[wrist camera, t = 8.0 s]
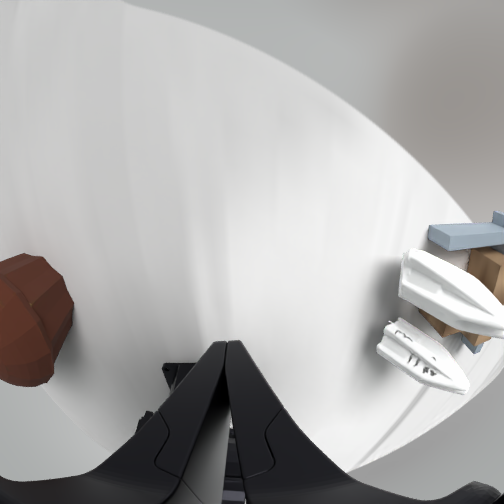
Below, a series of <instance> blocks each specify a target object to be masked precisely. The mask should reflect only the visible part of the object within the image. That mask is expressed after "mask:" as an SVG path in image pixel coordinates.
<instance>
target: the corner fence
mask: <svg viewBox="0 0 504 504" xmlns="http://www.w3.org/2000/svg"><path fill="white" fill-rule="evenodd" d="M428 239H429V240H431V241H433V242H434V243H436V244H438V245H439V246H441V247H443V248H444V249H446V250H447V251H453V250H461V249H469V248H477V247H485V246H489V247H491V248H493V249H495V250H496V251H498V252H500V253H501V254H503V255H504V213H503V212H500V211H494V213H493V221H492V222H491V223H490V222H489V223H465V224H443V225H429V234H428ZM462 341H463V343H464V344H465V345H466V346H467V347H468V348H469V349H470V350H471V352H472V353H473V354H476V353H478V352H480V350H481V348H482V346H483V344H484V342H483V343H481V344H479V345H477V346H473V345H472V344H471V343H470V342H469V341H468V339H467V338H466V337H465V336H464V335H463V337H462Z"/></svg>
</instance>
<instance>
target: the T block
mask: <svg viewBox="0 0 504 504" xmlns="http://www.w3.org/2000/svg"><path fill="white" fill-rule="evenodd" d="M467 273H469V274H471V275H472V276H474V277H475V278H477V279H478V280H479V281H480V282H481V283H482V284H483V285H484V286H485V287H486V288H487V289H488V290H489V291H490V292H491V293H492V294H493V295H494V296H495V297H496V298H497V300H498V301H499V302H500V303H501V304H502V305H504V255H503V254H501V253H500V252H498V251H496V250H495V249H493V248H491V247H489V246H485V247H477V248H472V249H471V254H470V259H469V264H468V269H467ZM419 312H420V313H421V314H422V315H423V316H424V317H425V319H426V320H427V321H428V322H429V323H430V324H431V325H432V326H433V327H434V329H435V330H436V331H437V332H438V333H439V334H440V335H441V336H442V338H443V337H446V336H449V335H452V334H454V333H457V332H461V333H462V334H463V335H464V336H465V337H466V338H467V339H468V341H469V342H470V343H471V344H472V345H473V346H477V345H479V344H481V343H483V342H486V341H488V340H490V339H491V337H489V336H483V335H479V334H474V333H470V332H466V331H461V330H458V329H455V328H453V327H451V326H449V325H447V324H446V323H444V322H442V321H441V320H439V319H437V318H435V317H434V316H432V315H430V314H429V313H427V312H425V311H424V310H422V309H420V308H419Z"/></svg>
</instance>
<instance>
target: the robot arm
mask: <svg viewBox="0 0 504 504" xmlns="http://www.w3.org/2000/svg"><path fill="white" fill-rule="evenodd" d="M168 368H169V369H168ZM162 370H163V373H164V376H165V378H166V381H167V383H168V386H169V388H170V394H169V397H168V398H167V399H166V400H165V402H164V403H163V404H162V405H161V406H160V408H159V409H158V411H156V412H155V413H153V412H150V411H146V413H145V415H144V417H142V418H141V419H140V420H139V422H138V426H137V429H136V432H135V434H134V436H133V437H132V438H130V439H129V440H128V441H127V442H126V443H125V444H124V445H123V446H122V447H120V448H119V449H118V450H117V451H116V452H115V453H113V454H112V455H111V456H110V457H109V458H108V459H106V460H105V461H104V462H103V463H102V464H100V465H99V466H98V467H96V468H95V469H93V470H91V471H89V472H87V473H85V474H82V475H78V476H71V477H65V478H58V479H49V480H40V481H27V482H18V481H11V480H8V479H5V478H3V477H1V476H0V504H245V498H246V504H504V493H503V494H502V495H501V493H500V492H499V491H498V490H497V489H495V488H494V487H491V486H489V485H486V484H483V483H480V482H476V481H473V482H471V483H469V484H467V485H465V486H463V487H462V488H460V489H458V490H456V491H455V492H453V493H451V494H450V495H448V496H446V497H443V498H441V499H436V500H427V501H425V500H417V499H413V498H409V497H405V496H401V495H398V494H395V493H391V492H388V491H385V490H382V489H379V488H376V487H373V486H370V485H367V484H364V483H362V482H360V481H357V480H356V479H354V478H352V477H350V476H349V475H348V474H346V473H345V472H344V471H343V470H341V469H340V468H339V467H338V466H337V465H336V464H335V463H334V462H333V461H332V460H331V459H329V458H328V457H327V456H326V455H325V454H324V453H323V452H322V451H321V450H320V449H319V448H318V447H317V446H316V445H315V444H314V443H313V442H312V441H311V440H310V439H309V438H308V437H307V436H306V435H305V434H304V432H303V431H302V430H301V429H300V428H299V427H298V425H297V424H296V423H295V421H294V420H293V419H292V418H291V416H290V415H289V413H288V412H287V410H286V409H285V408H284V406H283V405H282V403H281V402H280V400H279V399H278V397H277V396H276V394H275V393H274V391H273V390H272V388H271V387H270V385H269V384H268V382H267V381H266V379H265V378H264V376H263V375H262V373H261V372H260V370H259V369H258V367H257V365H256V364H255V362H254V361H253V359H252V358H251V356H250V354H249V353H248V351H247V350H246V348H245V346H244V345H243V343H242V342H241V341H240V340H234V341H228V343H227V342H226V341H216V342H213V344H212V345H211V346H210V347H209V348H208V350H207V351H206V352H205V353H204V355H203V356H202V357H201V358H200V360H199V361H198V362H197V363H164V364H163V366H162ZM231 417H232V424H233V429H232V428H230V420H231Z"/></svg>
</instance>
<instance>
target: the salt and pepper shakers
mask: <svg viewBox="0 0 504 504" xmlns="http://www.w3.org/2000/svg"><path fill="white" fill-rule="evenodd" d="M398 296H399V297H401V298H402V299H405V300H406V301H408V302H410V303H412V304H413V305H415V306H417V307H418V308H420V309H422V310H424V311H425V312H427V313H429V314H430V315H432V316H434V317H435V318H437V319H439V320H441V321H442V322H444V323H446V324H447V325H449V326H451V327H453V328H455V329H458V330H461V331H466V332H470V333H474V334H479V335H483V336H489V337H495V338H501V339H504V307H503V305H502V304H501V303H500V302H499V301H498V300H497V298H496V297H495V296H494V295H493V294H492V293H491V292H490V291H489V290H488V289H487V288H486V287H485V286H484V285H483V284H482V283H481V282H480V281H479V280H478V279H477V278H475V277H474V276H472V275H471V274H469V273H467V272H465V271H464V270H462V269H460V268H458V267H456V266H454V265H452V264H450V263H448V262H446V261H444V260H442V259H440V258H438V257H436V256H433V255H431V254H429V253H427V252H425V251H423V250H417V249H415V248H411V249H410V250H409V251H407V252H406V253H403V257H402V264H401V273H400V280H399V295H398ZM389 322H390V323H391V324H389V325H387V326H386V327H385V328H384V331H383V332H384V336H383V339H382V341H381V342H380V343H379V344H378V345H377V352H376V353H377V354H378V355H381V356H382V357H384V358H385V359H387V360H388V361H389V362H391V363H392V364H393V365H395V366H396V367H398V368H399V369H400V370H402V371H403V372H405V373H406V374H408V375H409V376H410V377H412V378H413V379H415V380H416V381H418V382H420V383H422V384H424V385H427V386H430V387H434V388H438V389H441V390H445V391H449V392H453V393H457V394H461V395H465V394H466V393H467V391H468V389H469V386H470V384H469V381H468V379H467V377H466V375H465V374H464V372H463V371H462V369H461V368H460V367H459V365H458V364H457V362H456V361H455V360H454V358H453V357H452V356H451V355H450V353H449V352H448V351H447V350H446V348H445V347H444V346H443V345H441V344H440V343H439V342H438V341H436V340H435V339H433V338H432V337H430V336H429V335H427V334H426V333H424V332H422V331H421V330H419V329H418V328H416V327H415V326H413V325H411V324H410V323H408V322H407V321H405V320H404V319H402V318H400V317H399V318H398V321H396V322H395V323H393V322H391V321H389ZM397 330H398V332H397V333H396V334H395V332H396V331H397Z"/></svg>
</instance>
